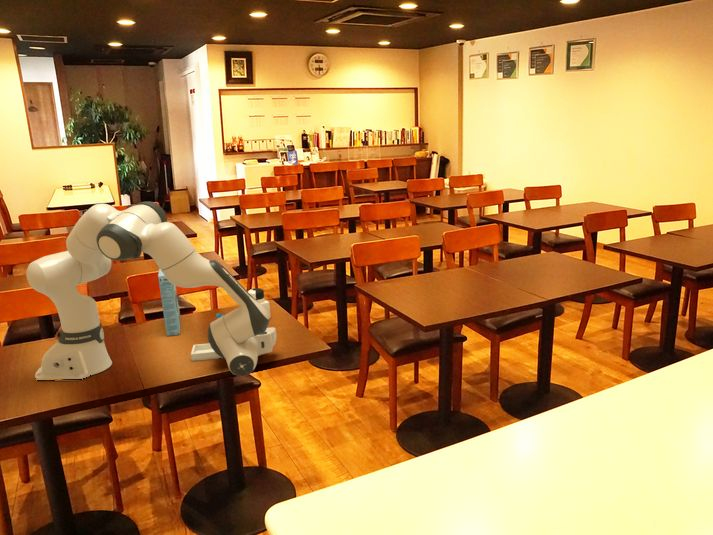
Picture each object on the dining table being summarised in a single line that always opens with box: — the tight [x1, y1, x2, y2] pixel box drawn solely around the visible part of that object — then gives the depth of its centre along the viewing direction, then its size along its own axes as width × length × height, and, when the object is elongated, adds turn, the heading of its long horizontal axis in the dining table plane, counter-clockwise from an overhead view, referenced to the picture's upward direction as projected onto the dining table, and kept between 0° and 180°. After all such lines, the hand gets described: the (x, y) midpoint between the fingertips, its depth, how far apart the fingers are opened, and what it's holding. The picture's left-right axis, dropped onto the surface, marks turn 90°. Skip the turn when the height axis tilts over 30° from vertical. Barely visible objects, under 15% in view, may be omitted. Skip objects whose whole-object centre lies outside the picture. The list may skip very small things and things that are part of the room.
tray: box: [190, 342, 223, 362], centre depth 196 cm, size 10×8×2 cm
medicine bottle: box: [247, 287, 272, 318], centre depth 226 cm, size 7×7×12 cm
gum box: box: [157, 267, 181, 337], centre depth 221 cm, size 20×5×23 cm, turn 15°
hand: (245, 329), depth 197 cm, fingers open, 6 cm apart
